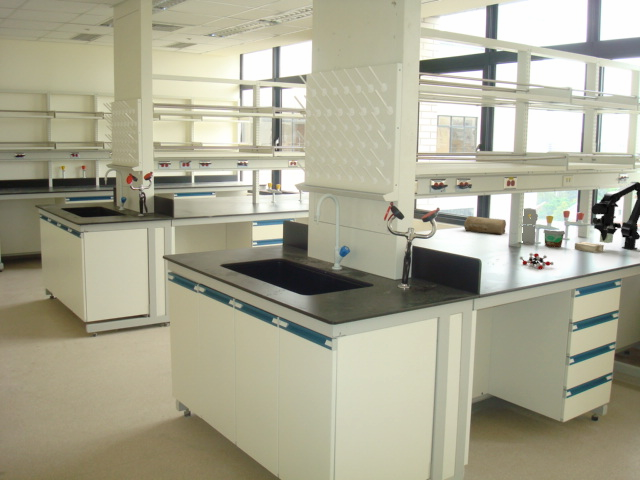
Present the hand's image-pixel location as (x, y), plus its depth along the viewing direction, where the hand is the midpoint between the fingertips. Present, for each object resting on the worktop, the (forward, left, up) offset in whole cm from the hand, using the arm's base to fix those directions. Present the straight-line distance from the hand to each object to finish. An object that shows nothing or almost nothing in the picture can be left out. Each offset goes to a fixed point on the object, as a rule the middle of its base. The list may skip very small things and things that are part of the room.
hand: (606, 240), depth 363 cm
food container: (+23, -20, -6) cm, 31 cm away
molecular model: (+82, +15, -6) cm, 83 cm away
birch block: (+12, -3, -6) cm, 14 cm away
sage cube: (0, 0, -1) cm, 1 cm away
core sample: (+15, -80, -6) cm, 81 cm away
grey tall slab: (+28, -35, -6) cm, 45 cm away
